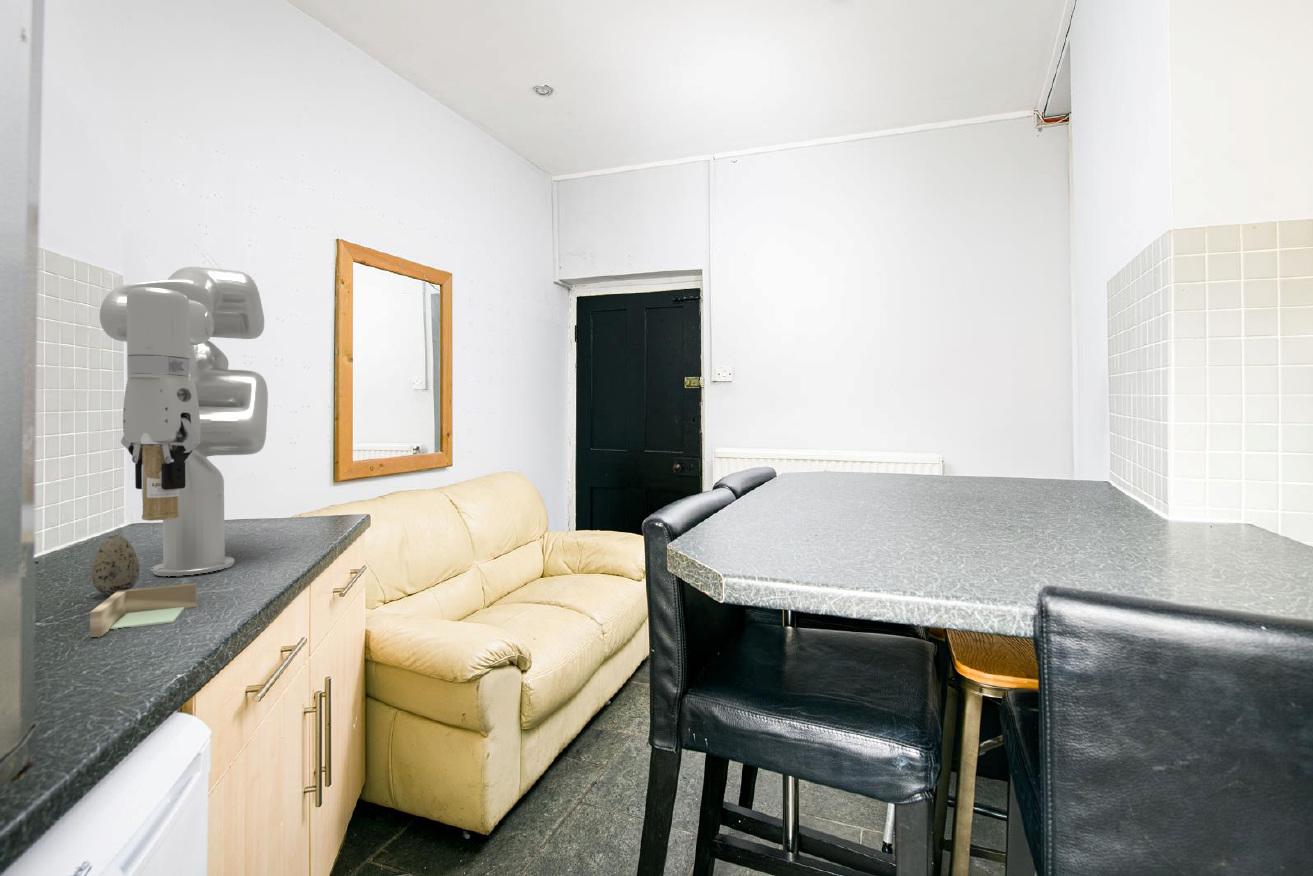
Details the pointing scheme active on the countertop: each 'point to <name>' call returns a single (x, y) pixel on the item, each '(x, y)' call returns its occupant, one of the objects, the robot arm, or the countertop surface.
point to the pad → (148, 618)
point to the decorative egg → (115, 566)
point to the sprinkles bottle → (156, 483)
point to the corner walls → (140, 604)
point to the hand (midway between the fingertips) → (160, 487)
